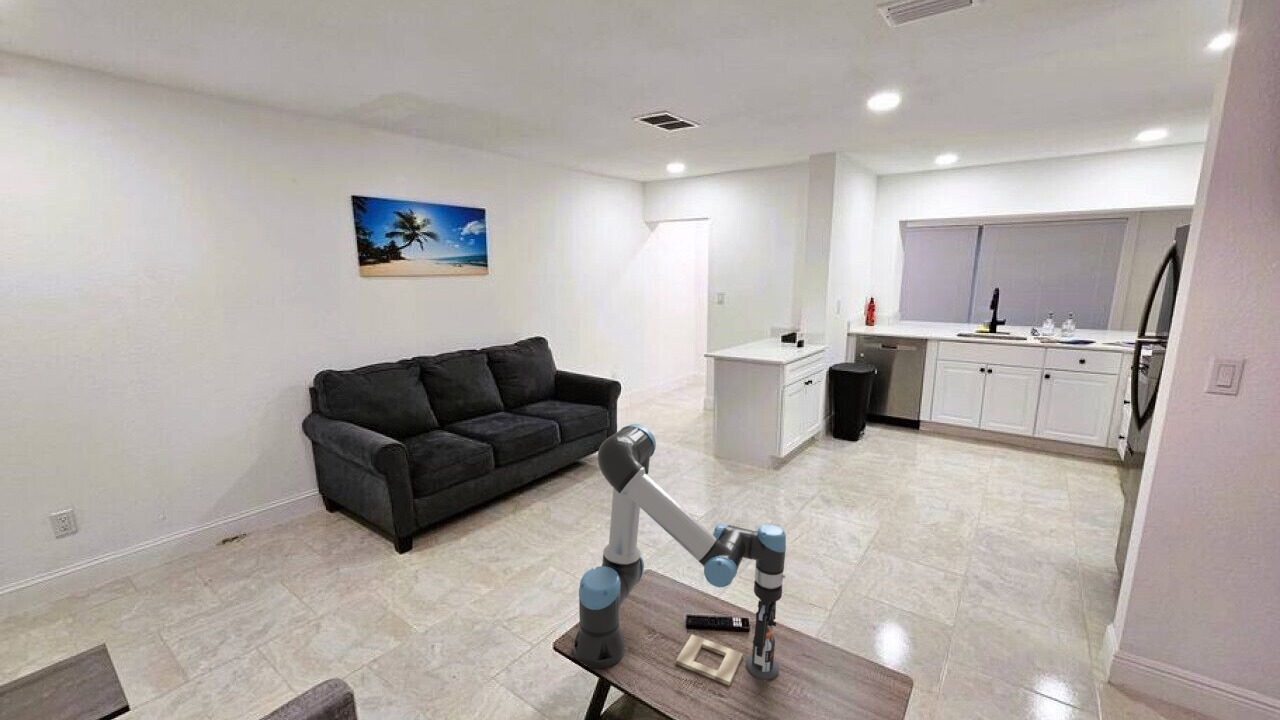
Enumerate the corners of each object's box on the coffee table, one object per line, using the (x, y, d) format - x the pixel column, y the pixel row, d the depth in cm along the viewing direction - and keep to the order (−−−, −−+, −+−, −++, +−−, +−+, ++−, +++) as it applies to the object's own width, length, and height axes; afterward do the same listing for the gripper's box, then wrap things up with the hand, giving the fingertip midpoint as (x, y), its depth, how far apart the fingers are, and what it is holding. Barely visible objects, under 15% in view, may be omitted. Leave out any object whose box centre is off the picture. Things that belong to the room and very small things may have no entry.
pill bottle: (773, 674, 144) (776, 639, 141) (751, 670, 145) (754, 635, 143) (772, 658, 150) (775, 624, 147) (751, 655, 151) (754, 620, 148)
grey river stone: (742, 671, 146) (742, 669, 145) (751, 651, 153) (751, 648, 153) (774, 684, 141) (774, 681, 141) (781, 662, 149) (782, 660, 149)
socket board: (675, 663, 148) (675, 660, 148) (691, 637, 158) (692, 634, 158) (729, 685, 141) (729, 682, 140) (742, 657, 151) (743, 653, 151)
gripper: (773, 606, 132) (767, 684, 136) (790, 567, 149) (784, 637, 154) (744, 597, 136) (739, 673, 140) (764, 559, 153) (759, 628, 157)
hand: (763, 654), depth 147 cm, fingers open, 7 cm apart
